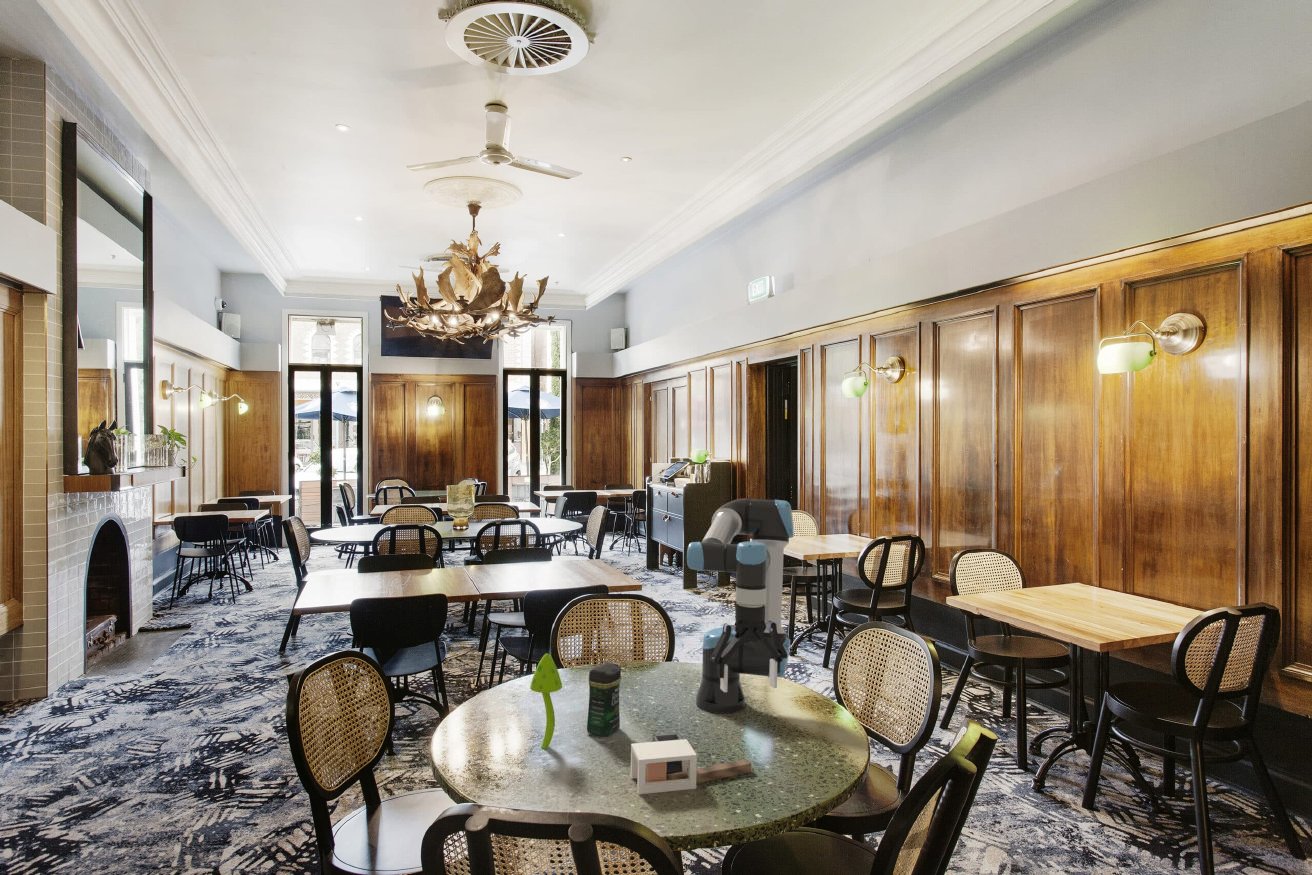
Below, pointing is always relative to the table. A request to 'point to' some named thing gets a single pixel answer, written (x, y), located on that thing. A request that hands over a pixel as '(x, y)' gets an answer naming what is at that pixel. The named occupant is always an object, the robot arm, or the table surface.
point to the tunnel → (668, 751)
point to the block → (655, 772)
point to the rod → (716, 771)
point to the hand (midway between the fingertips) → (748, 688)
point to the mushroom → (547, 691)
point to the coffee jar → (604, 700)
